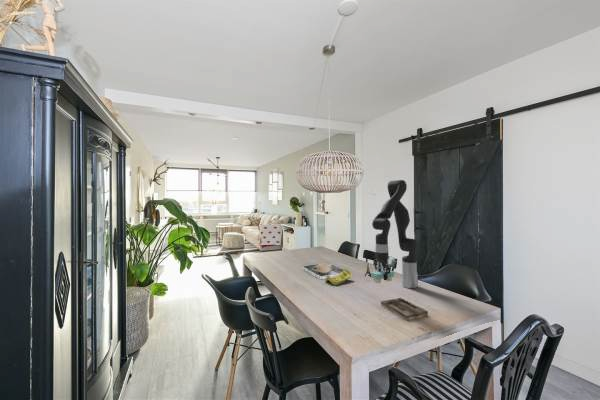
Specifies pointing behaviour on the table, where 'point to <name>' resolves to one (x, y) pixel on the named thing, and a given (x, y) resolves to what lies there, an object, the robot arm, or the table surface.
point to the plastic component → (339, 277)
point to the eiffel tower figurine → (368, 271)
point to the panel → (381, 276)
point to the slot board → (404, 308)
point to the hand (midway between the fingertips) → (382, 278)
